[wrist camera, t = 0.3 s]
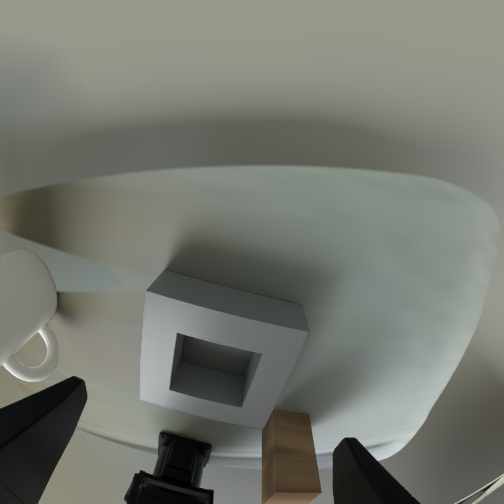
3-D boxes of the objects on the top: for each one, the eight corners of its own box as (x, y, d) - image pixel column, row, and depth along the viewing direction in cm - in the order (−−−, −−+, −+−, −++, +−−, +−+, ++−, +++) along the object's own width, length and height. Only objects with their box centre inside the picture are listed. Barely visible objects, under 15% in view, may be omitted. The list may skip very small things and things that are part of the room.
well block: (262, 398, 25) (263, 429, 21) (152, 371, 24) (139, 398, 20) (301, 304, 22) (309, 332, 18) (164, 269, 21) (146, 290, 17)
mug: (96, 330, 23) (39, 398, 13) (60, 355, 24) (13, 411, 15) (29, 230, 20) (-48, 263, 10) (2, 271, 22) (-58, 307, 12)
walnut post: (295, 434, 26) (303, 507, 17) (261, 430, 26) (261, 505, 17) (308, 414, 25) (321, 492, 16) (272, 409, 25) (276, 492, 16)
